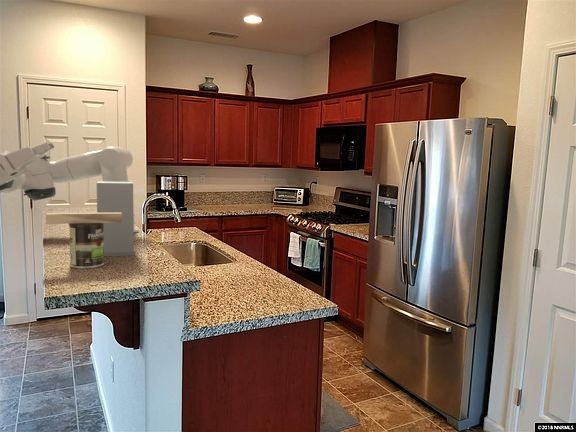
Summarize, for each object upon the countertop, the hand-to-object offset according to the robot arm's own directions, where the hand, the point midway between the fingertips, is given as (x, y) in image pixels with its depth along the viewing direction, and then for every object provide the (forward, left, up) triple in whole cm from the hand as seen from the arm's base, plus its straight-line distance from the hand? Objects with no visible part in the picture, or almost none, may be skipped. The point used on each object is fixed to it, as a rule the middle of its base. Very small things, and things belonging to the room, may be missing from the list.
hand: (50, 144), depth 148 cm
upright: (-4, +20, -38) cm, 43 cm away
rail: (+12, +11, -24) cm, 29 cm away
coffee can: (+12, +11, -39) cm, 42 cm away
